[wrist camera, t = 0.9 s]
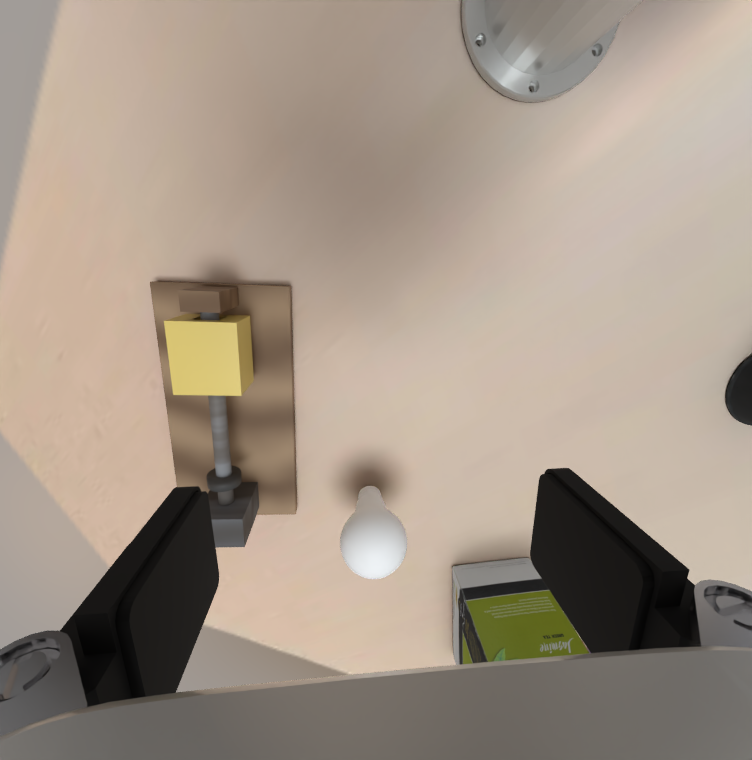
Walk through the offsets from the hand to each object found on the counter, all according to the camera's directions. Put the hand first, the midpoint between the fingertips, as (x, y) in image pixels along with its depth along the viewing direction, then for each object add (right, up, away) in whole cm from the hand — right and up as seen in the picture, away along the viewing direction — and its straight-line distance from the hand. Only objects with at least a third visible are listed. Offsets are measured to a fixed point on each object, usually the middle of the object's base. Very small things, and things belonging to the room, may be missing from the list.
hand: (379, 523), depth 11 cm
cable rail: (-14, +1, +28) cm, 31 cm away
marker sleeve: (-14, +7, +23) cm, 28 cm away
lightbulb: (-1, -8, +32) cm, 33 cm away
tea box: (+14, -25, +38) cm, 48 cm away
